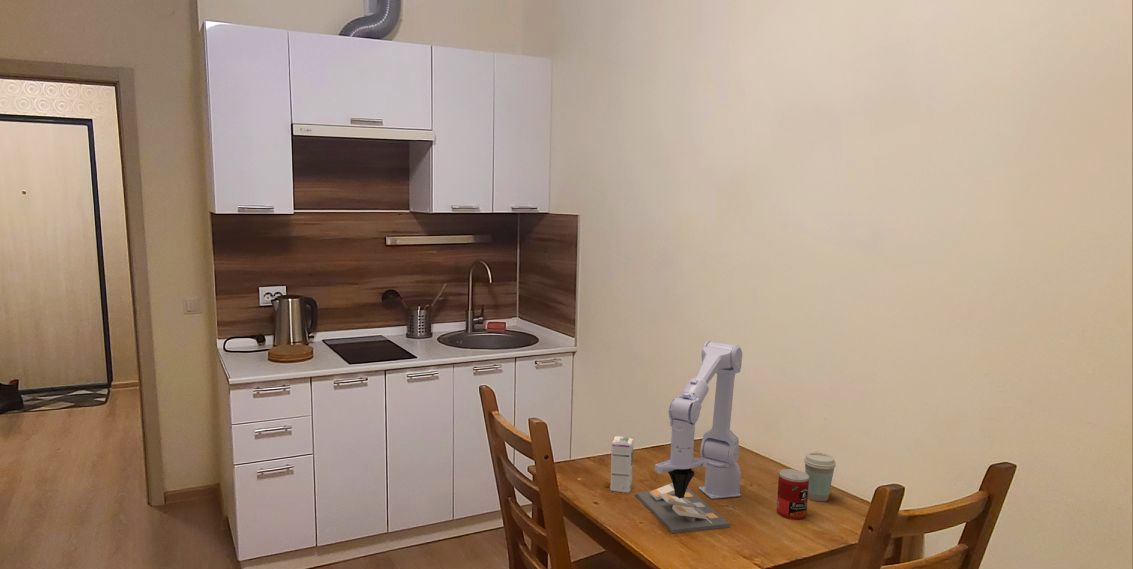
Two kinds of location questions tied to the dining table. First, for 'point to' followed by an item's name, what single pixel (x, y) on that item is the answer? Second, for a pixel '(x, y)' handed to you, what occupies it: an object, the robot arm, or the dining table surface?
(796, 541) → the dining table surface
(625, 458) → the syrup box
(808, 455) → the coffee cup
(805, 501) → the canned food
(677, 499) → the rocker
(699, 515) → the rocker
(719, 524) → the switch unit
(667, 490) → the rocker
